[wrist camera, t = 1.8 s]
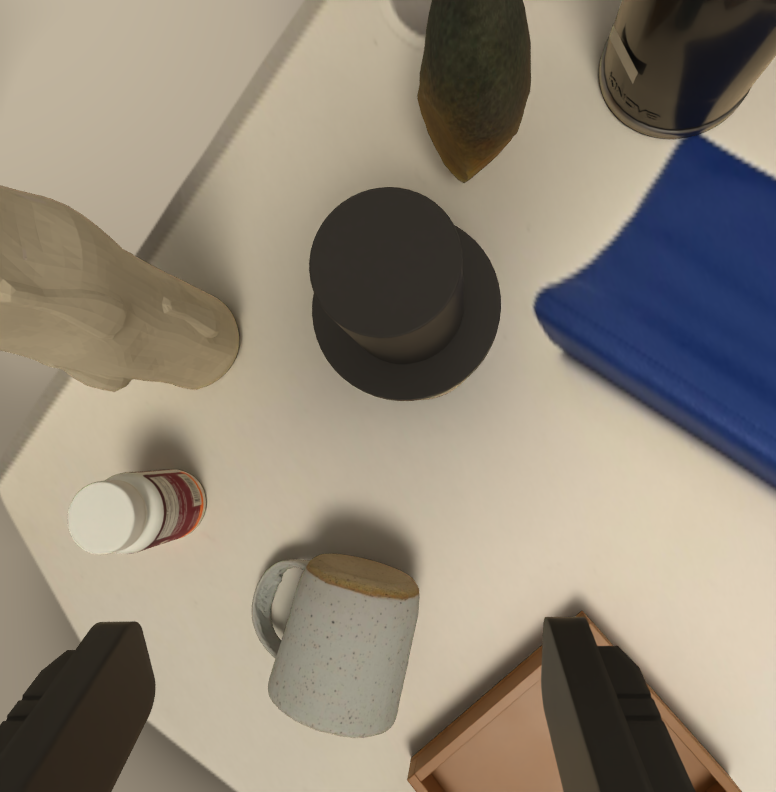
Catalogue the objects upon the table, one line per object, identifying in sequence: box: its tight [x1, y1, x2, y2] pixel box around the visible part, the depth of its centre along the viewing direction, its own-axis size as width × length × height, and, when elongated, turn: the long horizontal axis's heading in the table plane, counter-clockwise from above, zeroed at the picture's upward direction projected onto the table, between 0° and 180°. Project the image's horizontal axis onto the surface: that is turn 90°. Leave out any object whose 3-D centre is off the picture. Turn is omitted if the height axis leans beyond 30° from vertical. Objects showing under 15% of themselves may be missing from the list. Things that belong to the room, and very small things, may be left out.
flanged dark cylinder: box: [309, 187, 501, 401], centre depth 27 cm, size 10×10×9 cm
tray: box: [407, 611, 742, 792], centre depth 34 cm, size 14×12×2 cm
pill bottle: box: [68, 469, 206, 555], centre depth 36 cm, size 5×5×8 cm
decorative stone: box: [417, 0, 531, 183], centre depth 32 cm, size 10×6×15 cm, turn 176°
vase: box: [0, 186, 239, 392], centre depth 26 cm, size 9×8×30 cm
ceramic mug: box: [252, 554, 419, 738], centre depth 34 cm, size 11×8×8 cm
